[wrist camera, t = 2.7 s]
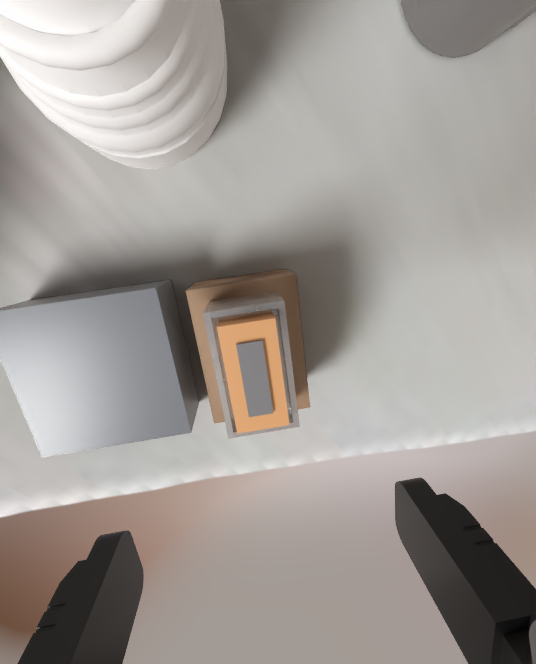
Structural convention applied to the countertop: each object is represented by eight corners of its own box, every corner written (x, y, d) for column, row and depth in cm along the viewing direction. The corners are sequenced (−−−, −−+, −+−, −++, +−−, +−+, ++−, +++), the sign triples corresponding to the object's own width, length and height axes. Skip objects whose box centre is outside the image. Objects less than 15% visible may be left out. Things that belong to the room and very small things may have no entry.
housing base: (277, 291, 22) (284, 300, 19) (290, 399, 25) (299, 426, 21) (209, 301, 22) (203, 313, 18) (230, 409, 25) (228, 438, 21)
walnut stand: (286, 268, 27) (295, 274, 22) (299, 380, 30) (310, 407, 25) (195, 281, 27) (185, 290, 22) (218, 394, 30) (214, 423, 25)
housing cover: (272, 312, 20) (275, 319, 18) (286, 412, 22) (289, 426, 20) (218, 320, 20) (216, 328, 18) (237, 420, 22) (237, 435, 20)
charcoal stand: (171, 279, 26) (155, 287, 22) (199, 402, 30) (191, 432, 25) (28, 300, 26) (-20, 313, 21) (74, 422, 29) (41, 457, 25)
